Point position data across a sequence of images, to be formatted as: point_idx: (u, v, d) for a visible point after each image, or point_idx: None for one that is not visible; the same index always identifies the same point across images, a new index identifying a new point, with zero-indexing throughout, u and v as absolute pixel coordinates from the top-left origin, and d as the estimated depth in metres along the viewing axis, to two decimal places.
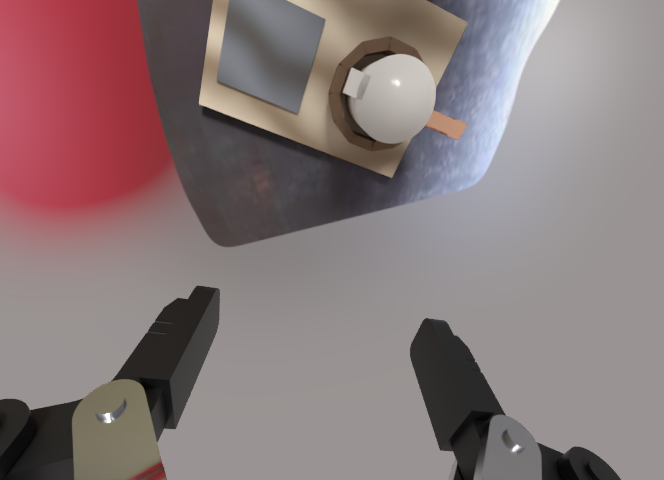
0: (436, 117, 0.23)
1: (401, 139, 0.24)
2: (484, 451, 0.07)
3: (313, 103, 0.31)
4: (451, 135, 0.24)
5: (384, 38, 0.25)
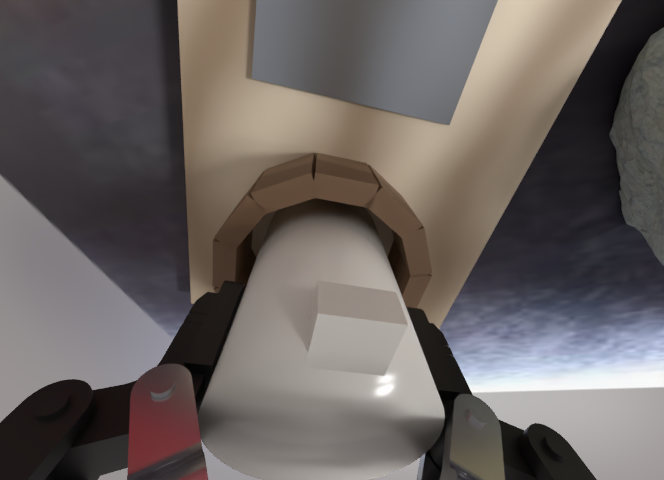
0: None
1: (228, 460, 0.08)
2: (450, 433, 0.07)
3: (286, 119, 0.13)
4: None
5: (429, 265, 0.13)
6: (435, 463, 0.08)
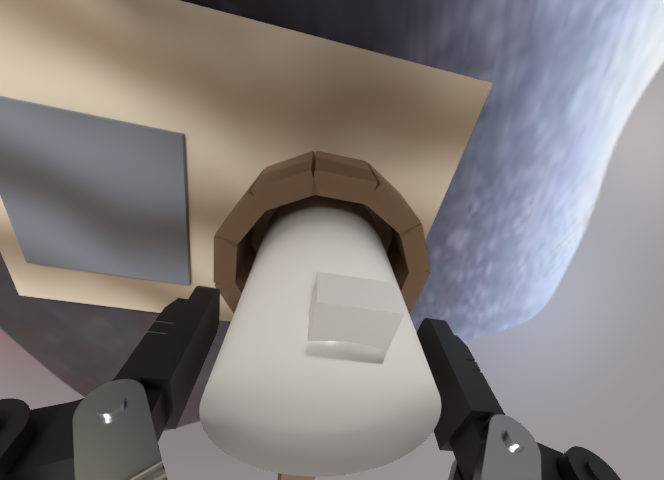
0: None
1: (229, 449, 0.08)
2: (484, 451, 0.07)
3: (213, 265, 0.17)
4: None
5: (299, 176, 0.11)
6: None
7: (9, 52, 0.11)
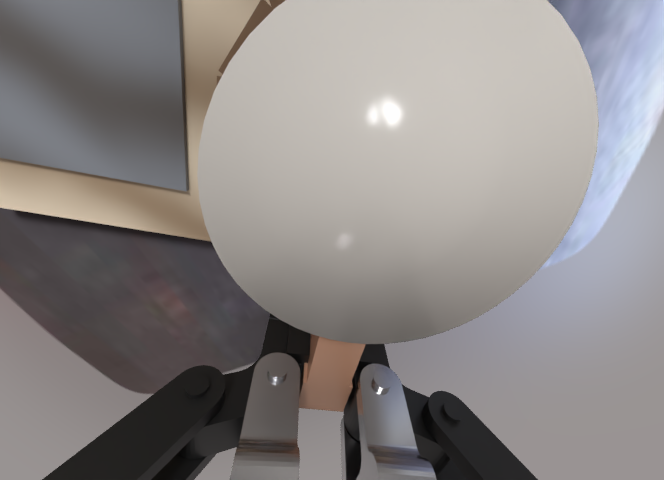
0: (349, 346, 0.07)
1: (244, 275, 0.05)
2: (362, 412, 0.07)
3: None
4: (305, 391, 0.08)
5: None
6: (354, 439, 0.08)
7: None
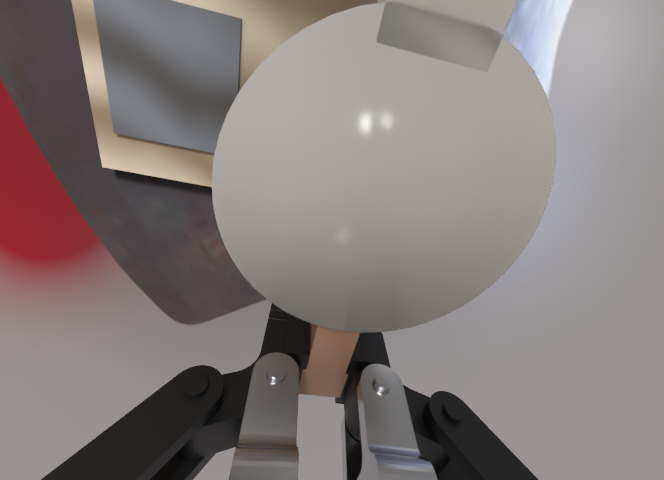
0: (344, 335, 0.08)
1: (250, 270, 0.06)
2: (363, 413, 0.07)
3: None
4: (305, 377, 0.08)
5: None
6: (355, 439, 0.08)
7: None
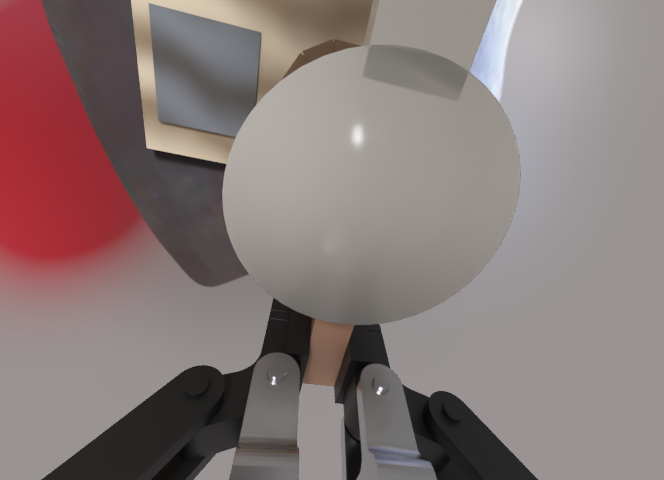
0: (340, 328, 0.08)
1: (255, 268, 0.07)
2: (362, 413, 0.07)
3: None
4: None
5: (326, 42, 0.21)
6: (355, 439, 0.08)
7: None
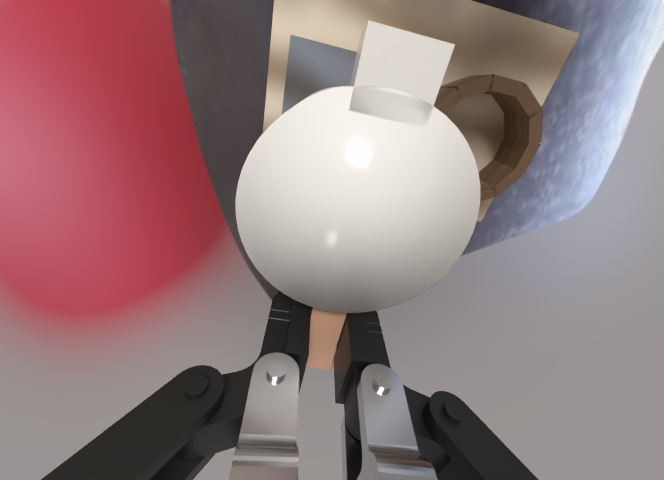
0: (334, 317, 0.10)
1: (262, 264, 0.08)
2: (363, 412, 0.07)
3: None
4: None
5: (485, 78, 0.20)
6: (355, 439, 0.08)
7: (323, 14, 0.21)
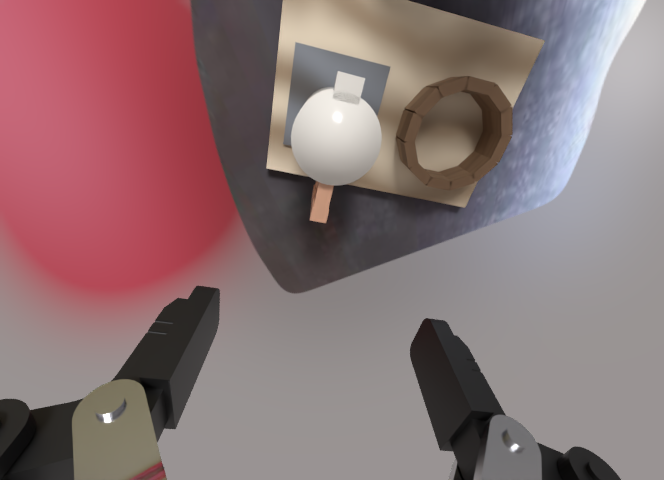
0: (327, 191, 0.22)
1: (298, 159, 0.20)
2: (484, 451, 0.07)
3: (380, 148, 0.30)
4: (313, 211, 0.23)
5: (461, 79, 0.24)
6: None
7: (323, 24, 0.25)
